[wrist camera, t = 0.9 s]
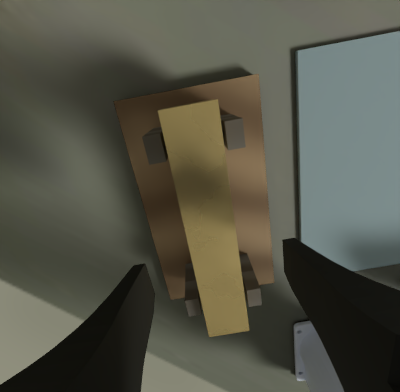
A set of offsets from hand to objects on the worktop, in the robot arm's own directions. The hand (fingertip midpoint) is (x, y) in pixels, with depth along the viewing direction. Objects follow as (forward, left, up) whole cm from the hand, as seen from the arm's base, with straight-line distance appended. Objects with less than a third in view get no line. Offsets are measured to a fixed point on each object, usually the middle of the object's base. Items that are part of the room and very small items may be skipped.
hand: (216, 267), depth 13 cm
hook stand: (0, 0, -9) cm, 9 cm away
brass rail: (0, 0, -4) cm, 4 cm away
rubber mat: (0, -14, -9) cm, 17 cm away
